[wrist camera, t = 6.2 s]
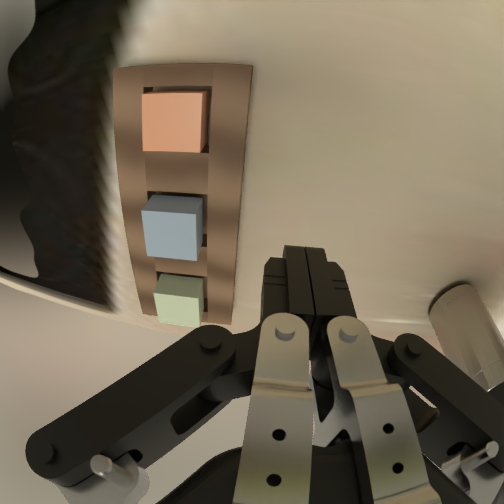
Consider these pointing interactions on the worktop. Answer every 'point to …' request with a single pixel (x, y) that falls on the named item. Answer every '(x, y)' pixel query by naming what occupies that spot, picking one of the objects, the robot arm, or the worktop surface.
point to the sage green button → (179, 300)
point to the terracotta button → (175, 120)
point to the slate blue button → (173, 226)
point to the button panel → (185, 176)
